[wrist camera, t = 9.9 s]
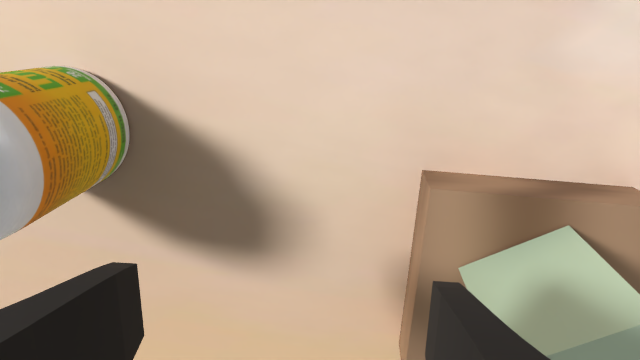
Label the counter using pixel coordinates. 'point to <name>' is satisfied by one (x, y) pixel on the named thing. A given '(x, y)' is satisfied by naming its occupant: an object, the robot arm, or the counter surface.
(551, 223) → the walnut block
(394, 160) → the counter surface
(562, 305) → the sage block
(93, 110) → the supplement bottle
